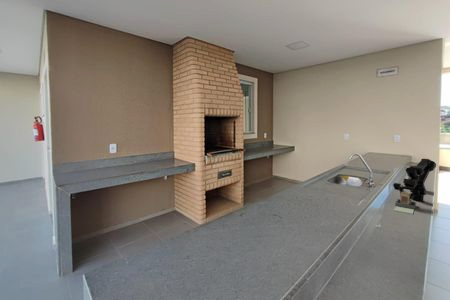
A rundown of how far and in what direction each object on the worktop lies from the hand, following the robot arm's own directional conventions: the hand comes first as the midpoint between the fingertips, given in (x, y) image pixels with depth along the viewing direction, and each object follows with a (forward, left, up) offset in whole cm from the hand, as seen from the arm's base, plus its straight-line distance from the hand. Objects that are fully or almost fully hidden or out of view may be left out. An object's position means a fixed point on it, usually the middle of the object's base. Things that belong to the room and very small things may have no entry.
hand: (405, 198), depth 160 cm
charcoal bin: (-1, -1, -7) cm, 7 cm away
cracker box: (-37, -47, -7) cm, 60 cm away
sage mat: (+6, +9, -7) cm, 12 cm away
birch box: (-1, -1, -6) cm, 6 cm away
